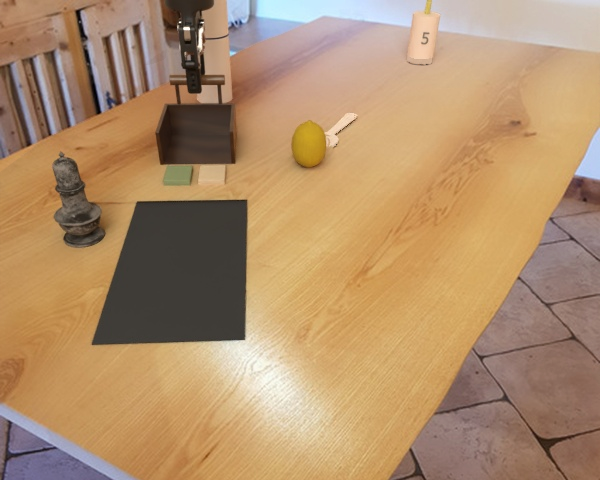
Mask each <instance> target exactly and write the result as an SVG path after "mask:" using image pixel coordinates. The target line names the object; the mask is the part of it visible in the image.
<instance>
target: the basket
mask: <svg viewBox="0 0 600 480" xmlns="http://www.w3.org/2000/svg"><path fill="white" fill-rule="evenodd" d="M168 76H169V77H168V78H169V85H170V86H174V89H175V96H176V103H171V102H170V103H164V105H163V108H162V110H161V114H160V116H159V119H158V123H157V126H156V129H155V132H154V133H155V141H156V147H157V152H158V153H157V154H158V159H159V164H160V166H188V165H236V158H237V157H236V156H237V141H238V139H237V138H238V129H237V111H236V110H237V109H236V102H227V103H222V92H221V85H225V75H201V85H217V89H218V102H219V103H201V102H194V103H193V102H192V103H189V102H187V103H185V102H184V103H182V99H181V91H180V86H187V80H186V74H169V75H168Z"/></svg>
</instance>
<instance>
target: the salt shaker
mask: <svg viewBox="0 0 600 480" xmlns="http://www.w3.org/2000/svg"><path fill="white" fill-rule="evenodd" d="M58 156H59V157H58V158H57V159H55V160H54V161H53V162H52V165H51V166H52V167H51V168H52V171H53V174H54V178H55V182H56V184H55V187H54V190H55V191H56V192H57V193H58V195H59V198H60V201H61V207H59V208H58V209H56V210H55V212H54V214H53V219H54V221H55V222H56V223H57V225H58V226H59V227H60V229H62V230H63V232H65V233H64V235H63V236H62V237H63V239H62V240H63V243H64V244H65V245H66V246H68V247H70V248H71V247H72V248H88V247H91V246H94V245H97V244H98V243H100V242H101V241H102V240H104V238H105V235H106V231H105V229H104V228H103V227H101V226H99V225H100V224H101V223H100V222H101V218H102V217H101V214H102V211H103V209H102V207H101V206H100V205H99V204H97V203H95V202H93V201H89V200H88V198H87V195H86V190H85V188H87V187H86V186H87V185H86V182H85V181H83V180H82V177H81V174H80V171H79V166H78V164H77V162H76V160H75V159H73V158H72V157H68V156H65V153H64V152H63V151H59V153H58Z"/></svg>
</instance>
